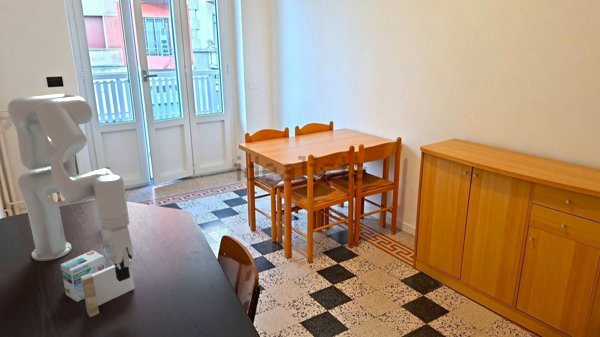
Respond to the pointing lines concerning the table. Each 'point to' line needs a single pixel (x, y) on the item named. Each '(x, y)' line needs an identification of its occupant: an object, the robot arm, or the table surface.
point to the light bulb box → (80, 272)
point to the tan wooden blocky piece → (90, 295)
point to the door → (111, 284)
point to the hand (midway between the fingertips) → (123, 278)
